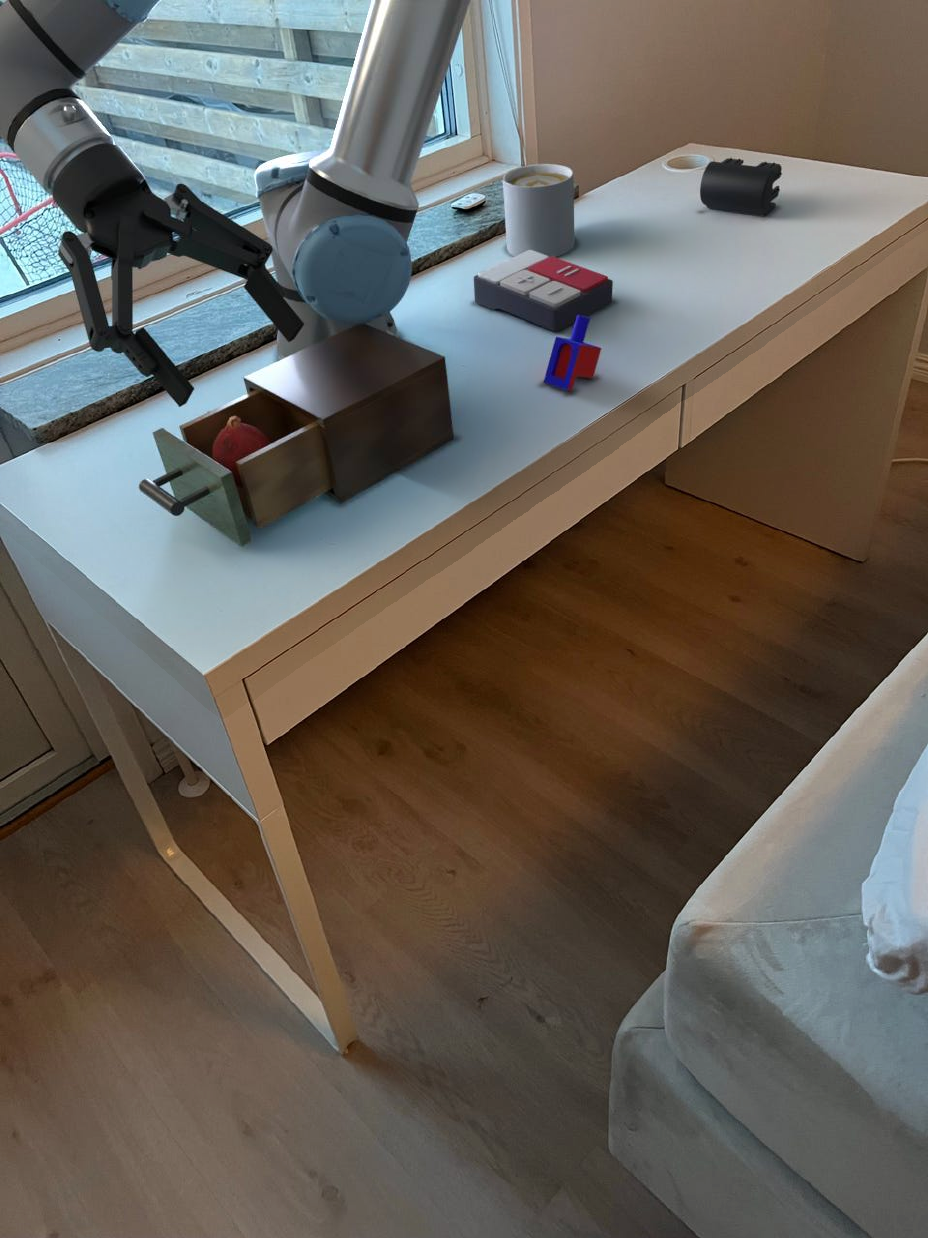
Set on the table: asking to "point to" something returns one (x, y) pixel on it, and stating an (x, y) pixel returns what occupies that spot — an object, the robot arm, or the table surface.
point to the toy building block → (572, 357)
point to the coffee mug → (539, 209)
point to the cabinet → (365, 402)
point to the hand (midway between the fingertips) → (244, 364)
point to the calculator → (542, 289)
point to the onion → (237, 445)
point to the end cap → (740, 186)
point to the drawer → (242, 467)
